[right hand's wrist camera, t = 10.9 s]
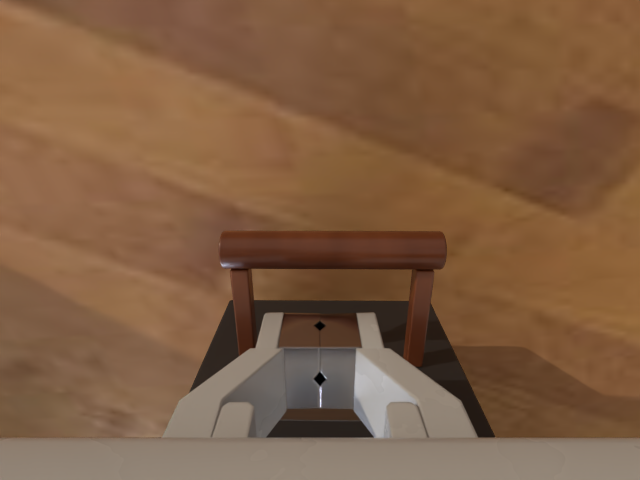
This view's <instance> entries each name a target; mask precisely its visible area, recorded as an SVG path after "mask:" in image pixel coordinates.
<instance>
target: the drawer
mask: <svg viewBox="0 0 640 480" xmlns="http://www.w3.org/2000/svg"><path fill="white" fill-rule="evenodd" d="M446 256H447V246H446V240H445V236H444V234H443V233H442V232H440V231H223V232H222V234H221V237H220V241H219V259H220V263H221V266H222V267H223V268H225V269H231V271H230V276H231V285H232V295H233V300H231V301H230V302H229V304H228V306H227V308H226V311H225V313H224V315H223V317H222V320H221V322H220V324H219V326H218V329H217V331H216V333H215V335H214V338H213V340H212V342H211V344H210V347H209V349H208V351H207V353H206V356H205V358H204V360H203V362H202V365H201V367H200V369H199V371H198V374H197V376H196V378H195V381H194V383H193V385H192V387H191V390H190V392H191V391H193V390H194V389H195V388H197V387H198V386H199V385H201V384H202V383H204V382H205V381H206V380H208V379H209V378H210V377H212V376H213V375H214V374H216V373H217V372H219V371H220V370H221V369H223V368H224V367H225V366H227V365H228V364H229V363H231V362H232V361H234V360H235V359H236V358H238V357H239V356H240V355H242V354H243V353H244V352H246V351H247V350H249V349H250V348H256V344H257V340H258V337H259V333H260V329H261V325H262V321H263V317H264V315H265V313H280V312H283V313H320V314H336V313H368V312H374V313H375V314H376V318H377V322H378V325H379V329H380V333H381V337H382V341H383V344H384V348H390V349H392V350H393V351H394V352H396V353H397V354H398V355H400V356H401V357H402V358H404V359H405V360H406V361H408V362H409V363H411V364H412V365H413V366H415V367H416V368H417V369H419V370H420V371H421V372H423V373H424V374H425V375H427V376H428V377H429V378H431V379H432V380H434V381H435V382H436V383H438V384H439V385H440V386H442V387H443V388H444V389H446V390H447V391H448V392H450V393H451V394H453V395H454V396H455V397H457V398H458V399H459V400H461V402H462V404H463V406H464V408H465V410H466V412H467V415H468V417H469V419H470V421H471V423H472V425H473V427H474V430H475V432H476V434H477V436H478V438H495V435H494V433H493V431H492V429H491V427H490V425H489V423H488V421H487V419H486V417H485V415H484V413H483V411H482V409H481V406H480V404H479V402H478V400H477V398H476V396H475V394H474V392H473V390H472V388H471V386H470V384H469V382H468V380H467V378H466V375H465V373H464V371H463V369H462V367H461V365H460V363H459V361H458V359H457V357H456V355H455V353H454V351H453V349H452V347H451V344H450V342H449V340H448V338H447V336H446V334H445V332H444V330H443V328H442V326H441V324H440V322H439V320H438V318H437V316H436V313H435V311H434V309H433V307H432V305H431V303H430V302H431V295H432V287H433V279H434V271H433V269H442V268H443V267H444V265H445V262H446ZM251 269H412V277H411V287H410V297H409V301H287V300H254V295H253V283H252V271H251ZM190 392H189V393H190ZM266 438H374V437H373V435H372V434H371V433H370V431H369V430H368V429H367V427H366V426H365V425H364V424H363V422H362V421H361V420H360V418H359V417H358V416H357V414H356V413H355V412H354V409H331V408H309V409H286V412H285V414H284V415H283V416H282V417H281V419H280V420H279V421H278V423H277V424H276V425H275V426H274V428H273V429H272V430H271V432H270V433H269V434H268V436H267V437H266Z"/></svg>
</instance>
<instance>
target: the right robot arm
mask: <svg viewBox="0 0 640 480" xmlns="http://www.w3.org/2000/svg"><path fill="white" fill-rule="evenodd" d="M309 408H331V409H354V412H355V413H356V414H357V416H358V417H359V418H360V420H361V421H362V422H363V424H364V425H365V426H366V427H367V429H368V430H369V431H370V433H371V434H372V435H373V437H374V438H266V437H267V436H268V434H269V433H270V432H271V430H272V429H273V428H274V426H275V425H276V424H277V423H278V421H279V420H280V419H281V417H282V416H283V415H284V414H285V412H286V409H309ZM0 480H640V438H478V436H477V434H476V432H475V430H474V427H473V425H472V423H471V421H470V419H469V417H468V415H467V412H466V410H465V408H464V406H463V404H462V402H461V400H459V399H458V398H457V397H455V396H454V395H453V394H451V393H450V392H448V391H447V390H446V389H444V388H443V387H442V386H440V385H439V384H438V383H436V382H435V381H434V380H432V379H431V378H429V377H428V376H427V375H425V374H424V373H423V372H421V371H420V370H419V369H417V368H416V367H415V366H413V365H412V364H411V363H409V362H408V361H406V360H405V359H404V358H402V357H401V356H400V355H398V354H397V353H396V352H394V351H393V350H392V349H390V348H384V344H383V341H382V337H381V333H380V329H379V325H378V322H377V318H376V314H375V313H374V312H368V313H336V314H320V313H283V312H280V313H265V315H264V317H263V321H262V325H261V329H260V333H259V337H258V340H257V344H256V348H250V349H249V350H247V351H246V352H244V353H243V354H242V355H240V356H239V357H238V358H236V359H235V360H234V361H232V362H231V363H229V364H228V365H227V366H225V367H224V368H223V369H221V370H220V371H219V372H217V373H216V374H214V375H213V376H212V377H210V378H209V379H208V380H206V381H205V382H204V383H202V384H201V385H199V386H198V387H197V388H195V389H194V390H193V391H191V392H190V393H189V394H187V395H186V396H184V397H183V398H182V399H180V400H179V402H178V404H177V406H176V408H175V411H174V413H173V415H172V417H171V419H170V421H169V423H168V425H167V428H166V430H165V432H164V434H163V436H162V438H0Z"/></svg>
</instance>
